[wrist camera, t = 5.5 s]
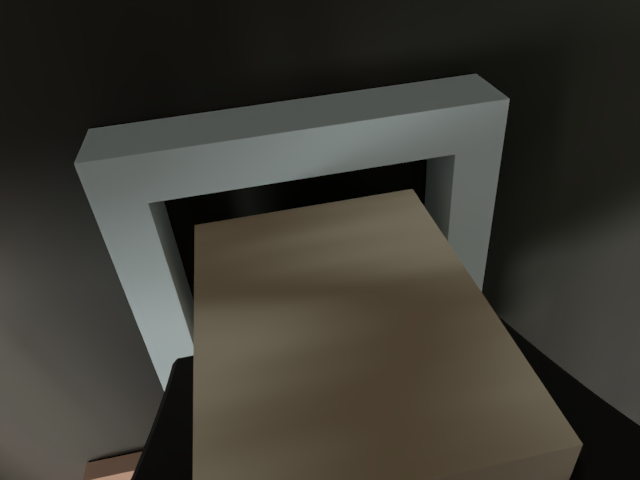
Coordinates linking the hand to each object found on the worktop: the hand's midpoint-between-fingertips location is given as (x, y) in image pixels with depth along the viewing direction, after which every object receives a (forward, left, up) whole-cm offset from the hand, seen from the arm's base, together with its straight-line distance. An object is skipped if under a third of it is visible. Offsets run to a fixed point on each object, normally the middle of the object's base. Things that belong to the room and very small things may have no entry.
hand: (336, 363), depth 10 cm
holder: (0, 0, -4) cm, 4 cm away
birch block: (0, 0, -2) cm, 2 cm away
